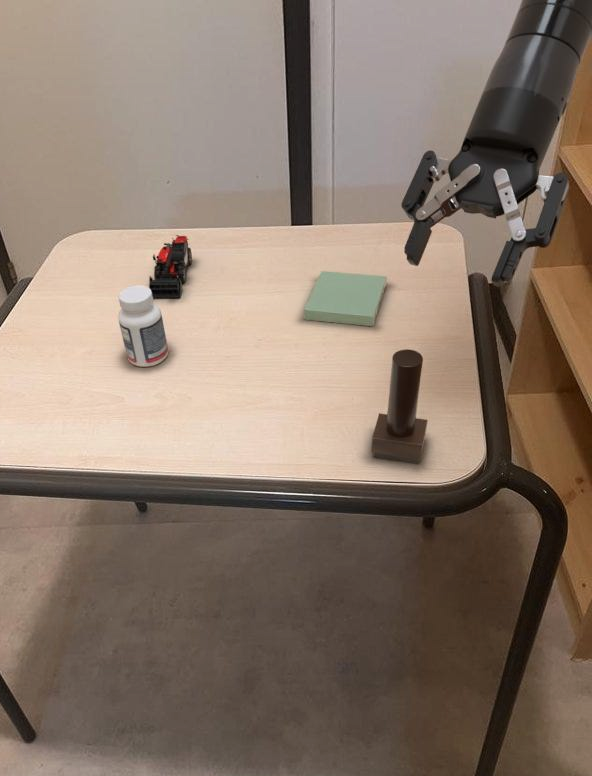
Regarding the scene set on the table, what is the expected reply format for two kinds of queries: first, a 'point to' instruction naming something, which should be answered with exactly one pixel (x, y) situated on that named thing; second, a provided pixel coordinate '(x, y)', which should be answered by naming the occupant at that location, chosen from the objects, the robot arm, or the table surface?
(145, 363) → the pill bottle
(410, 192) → the robot arm
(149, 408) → the table surface
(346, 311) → the tile
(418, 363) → the brown peg on base
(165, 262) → the loader
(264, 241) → the table surface
